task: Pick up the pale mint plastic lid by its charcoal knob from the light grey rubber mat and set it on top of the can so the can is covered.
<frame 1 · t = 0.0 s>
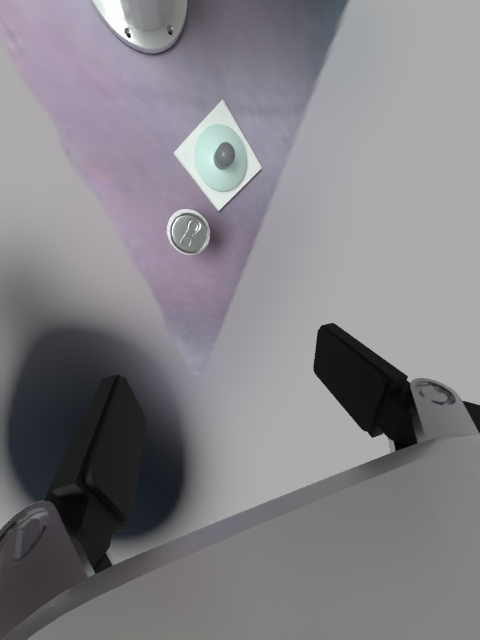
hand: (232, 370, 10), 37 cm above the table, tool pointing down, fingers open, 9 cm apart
lid: (220, 160, 35), point 1 cm above the table, touching mat
can: (186, 228, 40), on the table
mat: (219, 161, 36), on the table
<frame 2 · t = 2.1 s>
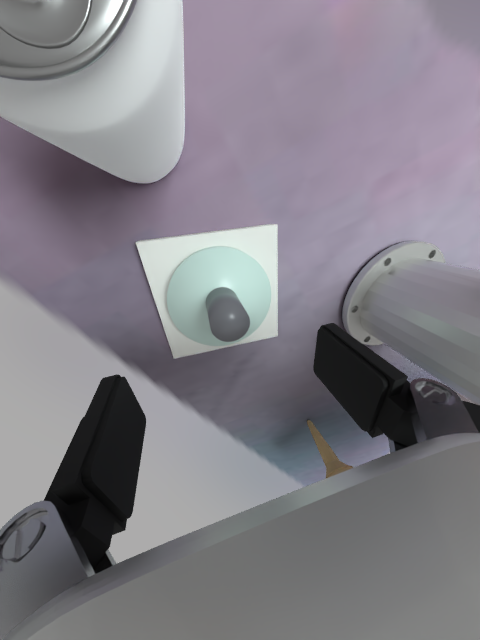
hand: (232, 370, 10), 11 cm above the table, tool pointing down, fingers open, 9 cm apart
ice cream cone: (307, 419, 33), on the table
lid: (220, 298, 18), point 1 cm above the table, touching mat
can: (132, 123, 13), on the table
mat: (218, 294, 19), on the table
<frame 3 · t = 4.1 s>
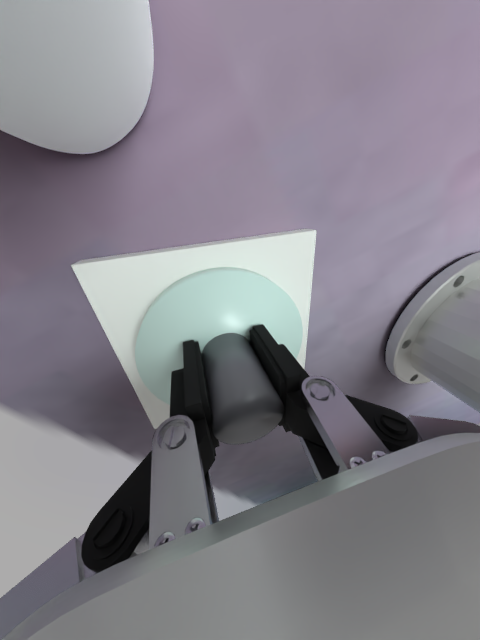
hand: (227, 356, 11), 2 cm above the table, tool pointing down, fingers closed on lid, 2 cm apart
lid: (223, 344, 12), point 1 cm above the table, touching gripper, mat
can: (40, 23, 6), on the table
mat: (220, 335, 13), on the table
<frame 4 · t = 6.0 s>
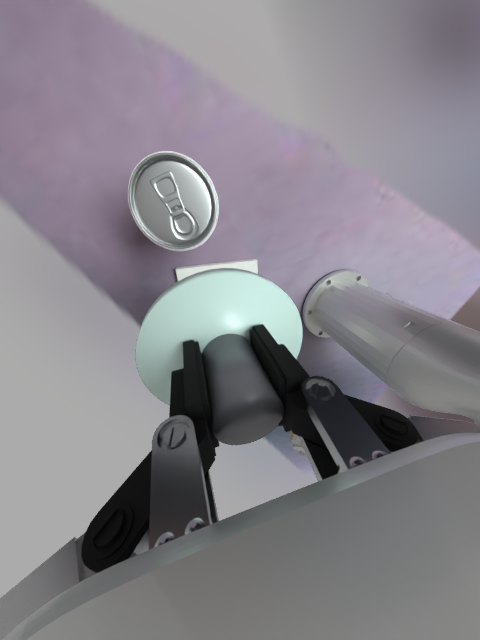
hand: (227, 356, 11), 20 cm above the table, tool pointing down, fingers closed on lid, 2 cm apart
ice cream cone: (281, 393, 44), on the table
lid: (223, 345, 12), point 18 cm above the table, touching gripper
can: (179, 208, 24), on the table
mat: (221, 299, 30), on the table
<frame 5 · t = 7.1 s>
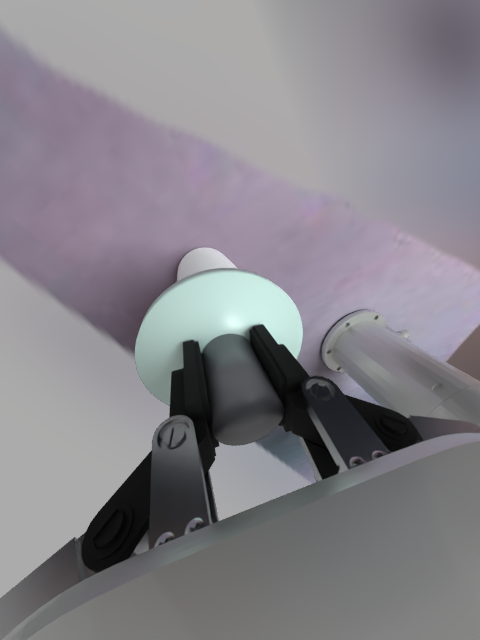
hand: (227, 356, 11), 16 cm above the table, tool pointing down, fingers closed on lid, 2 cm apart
lid: (223, 345, 12), point 15 cm above the table, touching gripper
can: (205, 274, 25), on the table
when the fingers open (14 cm above the table, at t = 8.0 s): lid drops 1 cm, resting on can.
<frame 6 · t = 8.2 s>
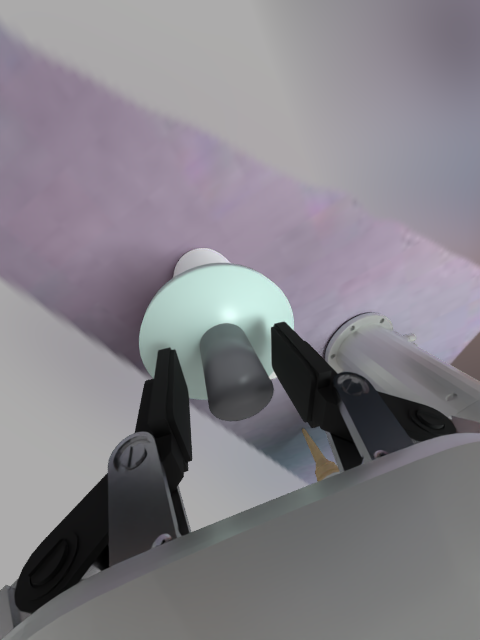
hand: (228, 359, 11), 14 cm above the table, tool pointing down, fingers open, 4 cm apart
ice cream cone: (301, 428, 44), on the table
lid: (220, 335, 13), point 12 cm above the table, touching can
can: (203, 276, 23), on the table, touching lid
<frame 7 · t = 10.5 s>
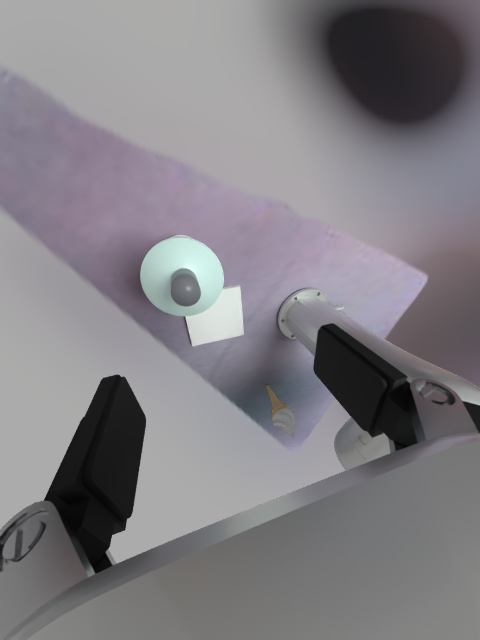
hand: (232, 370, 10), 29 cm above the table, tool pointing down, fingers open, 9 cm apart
ice cream cone: (266, 384, 55), on the table
lid: (184, 278, 24), point 12 cm above the table, touching can
mat: (214, 315, 40), on the table
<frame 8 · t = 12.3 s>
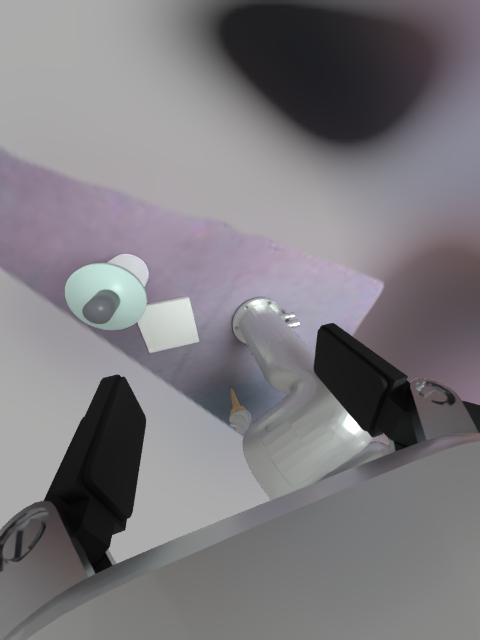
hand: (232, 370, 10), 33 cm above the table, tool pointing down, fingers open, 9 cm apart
ice cream cone: (230, 387, 58), on the table
lid: (110, 296, 27), point 12 cm above the table, touching can
can: (130, 271, 37), on the table, touching lid
mat: (168, 324, 44), on the table
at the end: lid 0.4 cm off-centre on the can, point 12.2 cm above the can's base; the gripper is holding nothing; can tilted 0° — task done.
